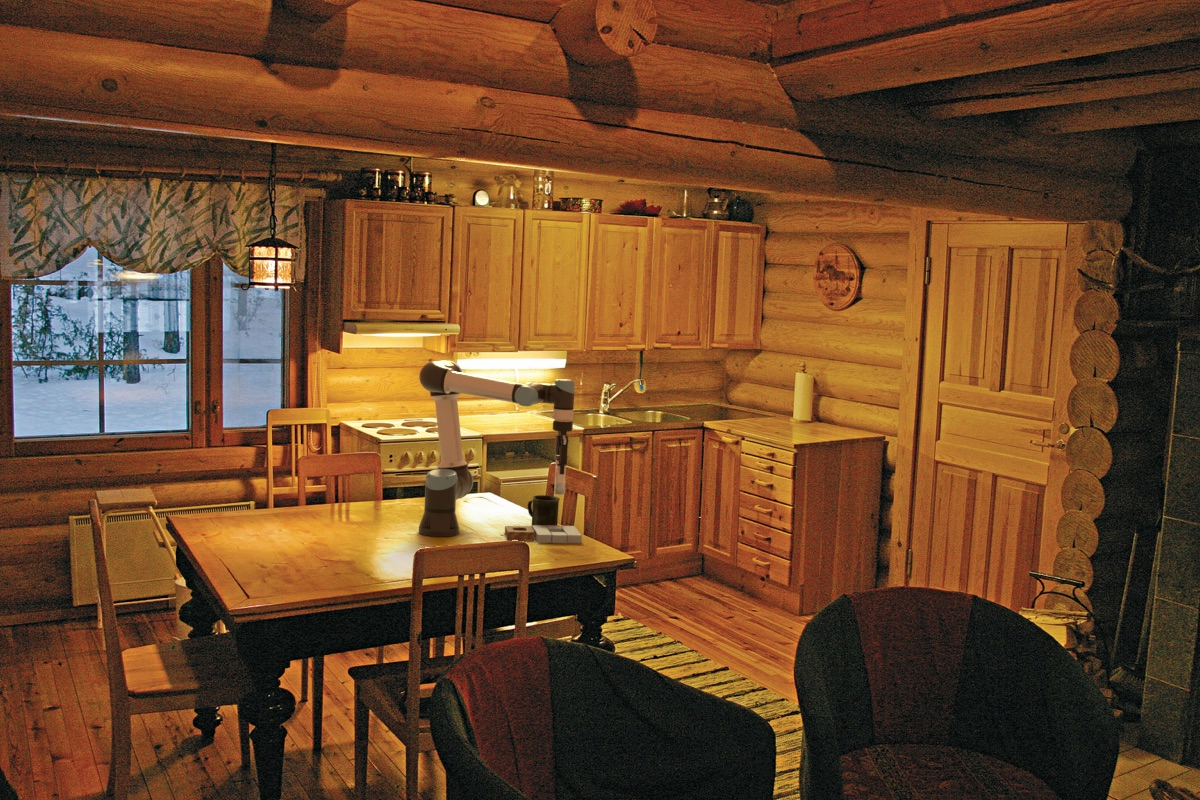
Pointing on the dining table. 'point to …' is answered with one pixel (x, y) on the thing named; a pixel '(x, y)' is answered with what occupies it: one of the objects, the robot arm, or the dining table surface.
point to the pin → (558, 487)
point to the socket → (556, 534)
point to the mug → (544, 510)
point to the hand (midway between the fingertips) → (559, 481)
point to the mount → (519, 532)
